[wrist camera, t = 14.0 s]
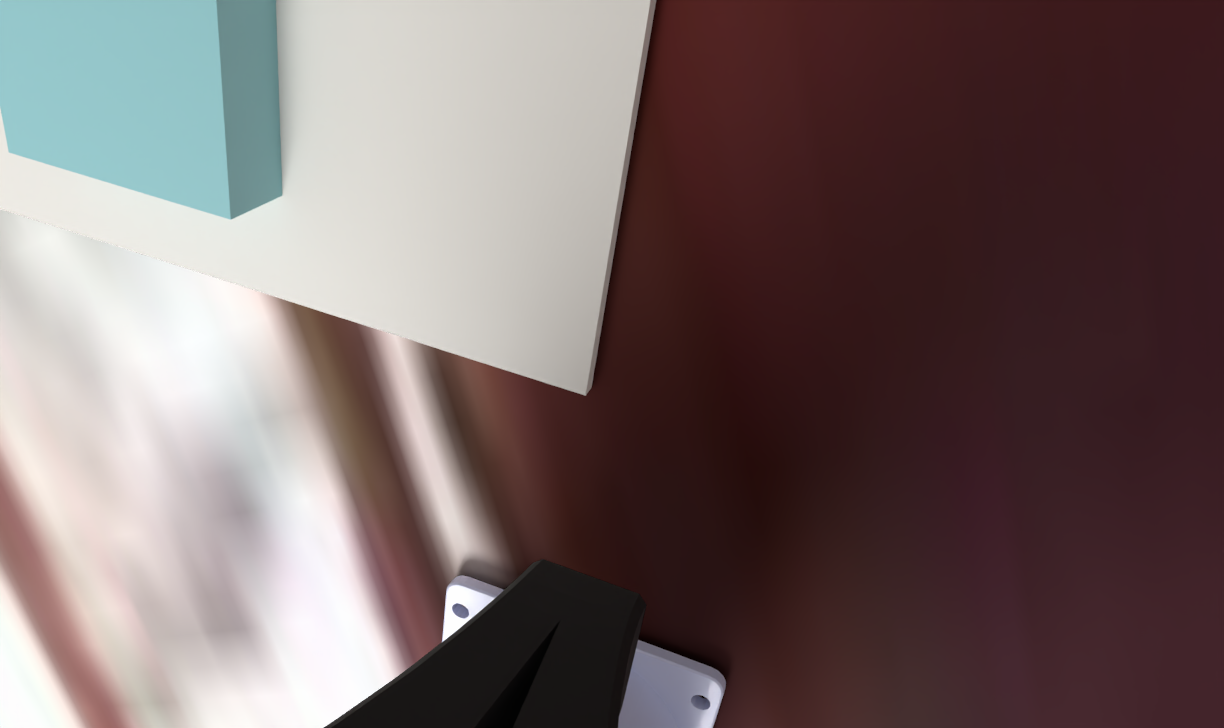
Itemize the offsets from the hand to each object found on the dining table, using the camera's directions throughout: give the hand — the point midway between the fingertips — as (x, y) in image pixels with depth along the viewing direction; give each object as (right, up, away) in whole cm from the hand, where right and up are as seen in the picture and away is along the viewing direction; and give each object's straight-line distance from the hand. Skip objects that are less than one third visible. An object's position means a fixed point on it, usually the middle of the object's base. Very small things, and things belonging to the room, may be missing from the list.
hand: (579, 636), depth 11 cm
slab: (-7, +10, +8) cm, 14 cm away
